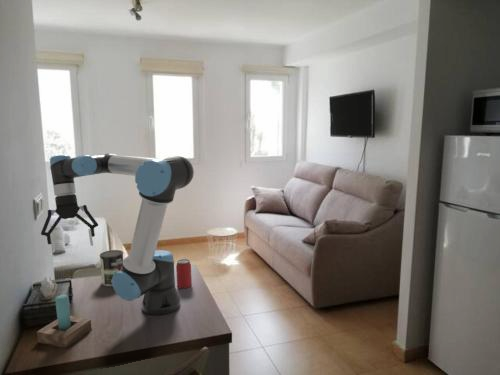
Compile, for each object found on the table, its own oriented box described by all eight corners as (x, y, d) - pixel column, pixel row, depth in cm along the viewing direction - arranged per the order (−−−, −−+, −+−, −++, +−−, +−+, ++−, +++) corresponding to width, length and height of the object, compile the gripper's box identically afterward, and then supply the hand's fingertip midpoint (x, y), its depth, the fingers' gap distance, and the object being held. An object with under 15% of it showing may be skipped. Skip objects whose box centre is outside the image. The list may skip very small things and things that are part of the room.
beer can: (174, 286, 171) (173, 261, 169) (186, 281, 175) (185, 257, 173) (182, 290, 166) (181, 265, 164) (194, 286, 170) (193, 261, 169)
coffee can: (129, 280, 178) (127, 252, 176) (111, 288, 170) (109, 258, 167) (115, 275, 184) (113, 248, 181) (97, 283, 175) (94, 254, 173)
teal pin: (74, 332, 132) (70, 295, 130) (65, 338, 128) (61, 300, 126) (65, 330, 133) (61, 294, 131) (56, 336, 130) (52, 299, 127)
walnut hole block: (91, 329, 135) (90, 319, 134) (66, 348, 124) (65, 337, 123) (65, 324, 138) (64, 314, 138) (38, 342, 127) (36, 331, 127)
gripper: (98, 191, 154) (105, 242, 154) (29, 200, 143) (37, 254, 143) (100, 190, 148) (107, 243, 148) (28, 199, 136) (36, 256, 136)
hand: (73, 248), depth 145 cm, fingers open, 13 cm apart
